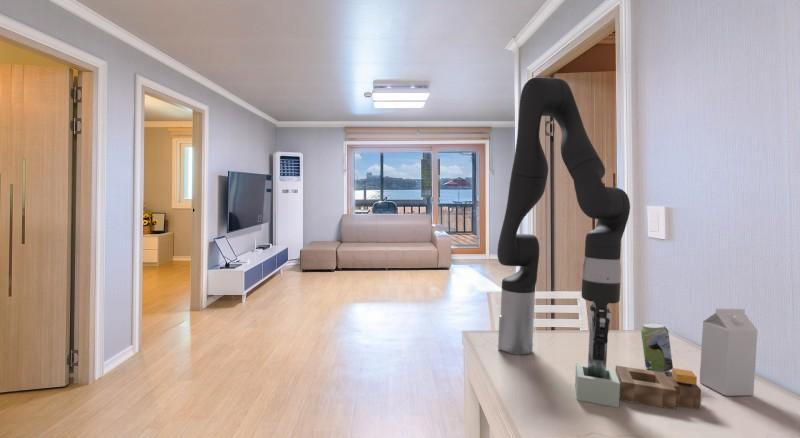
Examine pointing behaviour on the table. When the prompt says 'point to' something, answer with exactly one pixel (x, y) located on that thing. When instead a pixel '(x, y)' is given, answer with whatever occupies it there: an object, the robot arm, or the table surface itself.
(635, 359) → the table surface
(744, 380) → the milk carton
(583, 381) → the rack
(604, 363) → the peg
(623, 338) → the table surface
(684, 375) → the orange square-headed peg
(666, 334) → the beverage can
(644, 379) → the socket block
